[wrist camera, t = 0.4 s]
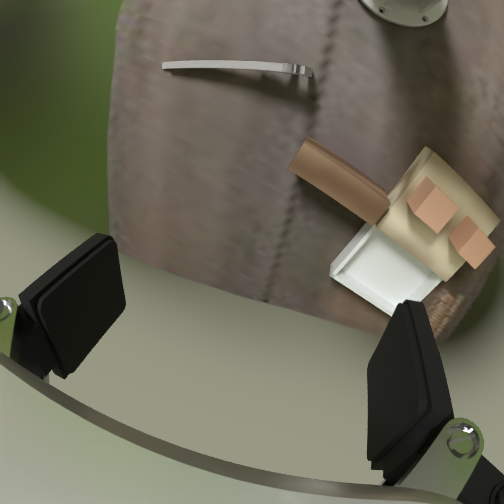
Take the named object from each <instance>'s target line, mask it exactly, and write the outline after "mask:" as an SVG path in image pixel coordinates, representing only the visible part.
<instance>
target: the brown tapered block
mask: <svg viewBox="0 0 504 504" xmlns="http://www.w3.org/2000/svg"><path fill="white" fill-rule="evenodd" d="M288 169H289V170H290V171H292V172H293V173H295V174H297V175H298V176H300V177H301V178H303V179H304V180H306V181H307V182H309V183H311V184H312V185H314V186H315V187H317V188H318V189H320V190H321V191H323V192H324V193H326V194H327V195H329V196H330V197H332V198H333V199H335V200H336V201H337V202H339V203H340V204H342V205H343V206H345V207H346V208H348V209H349V210H350V211H352V212H353V213H355V214H356V215H358V216H359V217H360V218H362V219H363V220H365V221H366V222H367V223H369V224H370V225H371V226H374V225H375V223H376V222H377V221H378V220H379V218H380V217H381V216H382V215H383V214H384V212H385V211H386V210H387V209H388V207H389V206H390V205H391V203H390V201H389V199H388V197H387V195H386V193H385V191H384V189H383V188H382V187H381V186H379V185H378V184H377V183H375V182H374V181H373V180H371V179H370V178H369V177H367V176H366V175H365V174H363V173H362V172H360V171H359V170H358V169H356V168H355V167H353V166H352V165H351V164H349V163H348V162H346V161H345V160H343V159H342V158H340V157H339V156H337V155H336V154H335V153H333V152H332V151H330V150H329V149H327V148H326V147H324V146H322V145H321V144H319V143H318V142H316V141H315V140H313V139H312V138H310V137H308V136H307V138H306V139H305V141H304V142H303V144H302V146H301V147H300V149H299V150H298V152H297V153H296V155H295V156H294V158H293V160H292V162H291V163H290V165H289V167H288Z"/></svg>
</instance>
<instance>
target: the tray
mask: <svg viewBox="0 0 504 504" xmlns="http://www.w3.org/2000/svg"><path fill="white" fill-rule="evenodd" d="M330 277H332V278H334V279H335V280H337V281H338V282H340V283H341V284H343V285H344V286H346V287H347V288H349V289H351V290H352V291H354V292H355V293H357V294H358V295H360V296H361V297H363V298H364V299H366V300H367V301H369V302H370V303H372V304H373V305H375V306H376V307H378V308H379V309H381V310H382V311H384V312H385V313H387V314H388V315H390V316H391V317H392V315H393V313H394V310H395V308H396V306H397V304H398V303H403V302H404V301H405V300H406V299H408V300H413V301H418V302H420V301H421V300H422V299H424V298H425V297H426V296H427V295H428V294H429V293H430V292H431V291H432V290H433V289H434V288H435V287H436V286H437V285H438V284H439V283H440V282H441V281H442V280H443V279H441V278H440V277H439V276H438V275H437V274H436V273H434V272H433V271H432V270H431V269H430V268H428V267H427V266H426V265H425V264H423V263H422V262H421V261H420V260H419V259H417V258H416V257H415V256H414V255H412V254H411V253H410V252H409V251H407V250H406V249H405V248H403V247H402V246H401V245H400V244H398V243H397V242H396V241H394V240H393V239H392V238H391V237H389V236H388V235H387V234H385V233H384V232H383V231H381V230H380V229H379V228H377V227H376V225H374V226H371V225H370V224H369V223H367V222H366V223H365V224H364V225H363V227H362V228H361V229H360V230H359V231H358V233H357V234H356V235H355V236H354V237H353V239H352V240H351V241H350V242H349V243H348V245H347V246H346V247H345V248H344V249H343V251H342V252H341V253H340V254H339V255H338V256H337V258H336V259H335V260H334V261H333V262H332V263H331V264H330Z"/></svg>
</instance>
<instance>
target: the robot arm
mask: <svg viewBox="0 0 504 504" xmlns="http://www.w3.org/2000/svg"><path fill="white" fill-rule="evenodd" d="M361 2H362V3H363V4H364V5H365V6H366V7H367V8H368V9H369V10H370V11H372V12H373V13H374V14H376V15H377V16H379V17H380V18H382V19H384V20H386V21H388V22H391V23H394V24H397V25H400V26H405V27H422V26H426V25H429V24H432V23H433V22H435V21H437V20H438V19H439V18H440V17H441V16H442V15H443V13H444V12H445V10H446V7H447V4H448V0H361ZM379 10H382V11H383V13H380V12H379ZM422 18H423V19H424V20H425V21H423V20H422ZM19 299H20V301H21V304H20V305H19V306H18V305H17V302H16V300H14V299H13V298H10V297H1V298H0V504H504V475H503V474H502V473H501V472H500V471H499V470H498V469H497V468H496V467H495V466H494V465H492V464H491V463H490V462H489V461H488V460H487V459H486V458H484V456H482V452H483V449H484V439H483V435H482V433H481V431H480V429H479V427H477V425H475V424H474V423H473V422H472V421H470V420H468V419H465V418H454V413H453V408H452V403H451V398H450V394H449V389H448V385H447V381H446V377H445V372H444V368H443V364H442V360H441V357H440V353H439V351H438V348H437V345H436V342H435V338H434V335H433V332H432V328H431V325H430V322H429V319H428V315H427V312H426V309H425V306H424V304H423V303H422V302H418V301H413V300H408V299H406V300H405V301H404V302H403V303H398V304H397V306H396V308H395V310H394V313H393V315H392V317H391V319H390V321H389V323H388V325H387V328H386V330H385V332H384V334H383V336H382V338H381V340H380V342H379V344H378V346H377V348H376V350H375V352H374V353H373V355H372V357H371V359H370V361H369V364H368V368H367V381H368V382H367V384H368V437H367V439H368V440H367V459H368V461H371V470H383V478H384V480H383V481H382V482H381V483H380V484H379V485H369V484H354V483H342V482H333V481H325V480H318V479H311V478H304V477H298V476H291V475H286V474H280V473H275V472H270V471H265V470H260V469H256V468H252V467H247V466H243V465H239V464H235V463H232V462H228V461H224V460H221V459H217V458H214V457H210V456H207V455H204V454H201V453H198V452H195V451H192V450H188V449H186V448H182V447H180V446H177V445H174V444H171V443H169V442H166V441H163V440H161V439H158V438H155V437H153V436H151V435H148V434H145V433H143V432H141V431H139V430H136V429H134V428H132V427H129V426H127V425H125V424H123V423H121V422H119V421H116V420H114V419H112V418H110V417H108V416H106V415H104V414H102V413H100V412H98V411H96V410H94V409H92V408H90V407H88V406H86V405H85V404H83V403H81V402H79V401H77V400H75V399H74V398H72V397H70V396H68V395H67V394H65V393H63V392H61V391H60V390H58V389H56V388H55V387H53V386H51V385H50V384H49V372H50V371H51V370H52V371H53V372H54V373H55V374H56V375H58V376H60V377H61V378H63V379H66V377H67V376H68V375H69V374H70V373H73V372H74V371H75V370H76V369H77V368H78V366H79V365H80V364H81V363H82V361H83V360H84V359H85V357H86V356H87V355H88V354H89V352H90V351H91V350H92V349H93V347H94V346H95V345H96V344H97V343H98V341H99V340H100V339H101V338H102V336H103V335H104V334H105V333H106V331H107V330H108V329H109V328H110V327H111V325H112V324H113V323H114V322H115V321H116V319H117V318H118V317H119V316H120V315H121V313H122V312H123V311H124V309H125V306H126V301H125V295H124V289H123V283H122V277H121V271H120V264H119V257H118V249H117V244H116V242H115V241H114V239H113V237H111V236H109V235H104V234H100V233H96V234H95V235H93V236H92V237H91V238H89V239H88V240H86V241H85V242H84V243H82V244H81V245H80V246H78V247H77V248H76V249H74V250H73V251H72V252H70V253H69V254H68V255H67V256H65V257H64V258H63V259H61V260H60V261H59V262H58V263H56V264H55V265H54V266H53V267H51V268H50V269H49V270H48V271H46V272H45V273H44V274H43V275H41V276H40V277H39V278H38V279H37V280H35V281H34V282H33V283H32V284H31V285H29V287H27V288H26V289H25V290H24V291H23V292H21V293H20V294H19Z"/></svg>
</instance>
